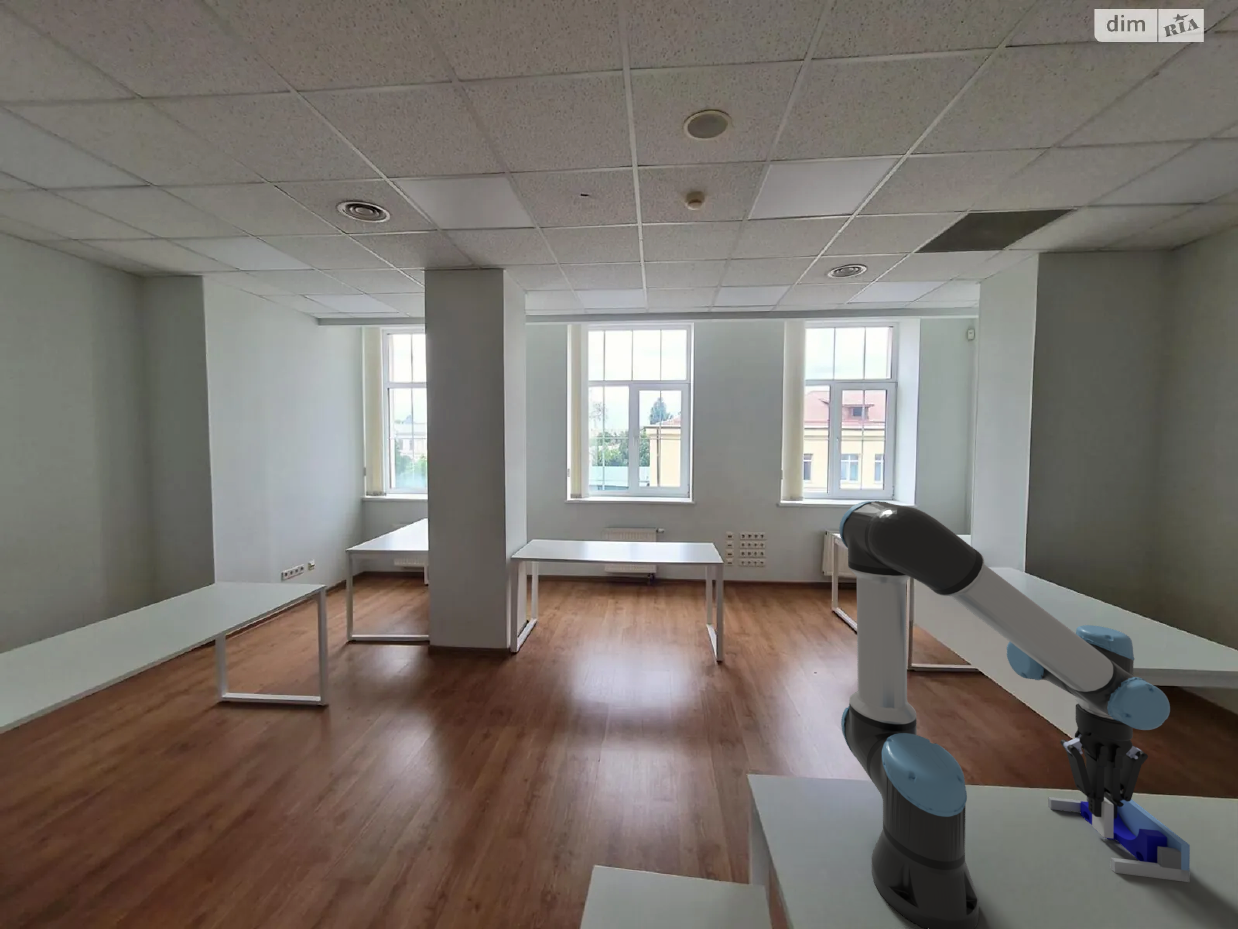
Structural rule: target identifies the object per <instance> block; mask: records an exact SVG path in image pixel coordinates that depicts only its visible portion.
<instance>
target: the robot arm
mask: <svg viewBox="0 0 1238 929" xmlns="http://www.w3.org/2000/svg"><path fill="white" fill-rule="evenodd" d="M838 532H839V536H840V539H841V541H842V544H844V546H845V547H846V548H847V568H848V569H849V570H850V572H852V574H854V575H855V577H856V629H857V630H856V635H857V636H856V638H857V639H856V642H857V645H856V647H857V648H856V650H857V651H856V652H857V653H856V654H857V655H856V656H857V657H856V658H857V664H856V666H857V691H856V692H854V693H852V694H851V695H850V697H849V700H848V701H849V704H848V707H845V708H844V710H843V712H842V715H841V721H840V724H841V725H840V726H841V732H842V735H843V738H844V740H845V743H846V745H847V746H848V747H847V748H848V749H849V750H850V753H852V756H854V757H855V758H856V760H857V761H858V762H859V764H860V766H861V767H862V768H863V770H864V771H865V773H866V774H867V776H868V777H869V779H870V780H871V782H872V783H873V785H874V786H875V788H876V789H877V791H878V792H879V793H880V795H881V798H882V829H881V832H880V834H879V837H878V838H877V841H876V844H875V846H874V849H873V851H872V853H871V876H872V880H873V882H874V885H875V886H876V889H878V892H879V893H880V895H881V896H882V897H883V898H884V900H885V901H886V902H887V903H888V904H889V905H890V906H891V907H892V908H893V909H894V910H895V911H896V912H898V913H899V915H901V916H903V917H904V918H906V919H907V920H909V921H910V922H912V923H914V924H916V925H918V926H920V927H921V928H924V929H926V928H929V929H975V928H976V927H977V926H978V923H979V920H980V918H979V917H980V915H979V914H980V913H979V912H980V909H979V908H980V905H979V904H980V903H979V897H978V894H977V891H976V888H975V885H974V882H973V879H972V877H971V873H970V870H969V868H968V865H967V862H966V804H967V799H968V794H967V787H966V782H965V775H964V772H963V769H962V767H961V765H960V764H959V762H958V761H957V760H956V758H955V757H954V756H953V755H952V754H951V753H950V752H949V751H948V750H947V749H945V748H944V747H943V746H941V745H940V744H938V743H937V742H936V743H934V742H931V741H930V739H928V738H926V737H924V736H921V735H918V734H917V733H918V730H917V728H918V727H917V726H918V725H917V722H918V721H917V712H916V709H915V708H914V707H913V706H912V704H910V703H909V702H908V669H907V668H908V666H907V664H908V660H907V659H908V658H907V657H908V656H907V655H908V654H907V653H908V651H907V650H908V649H907V648H908V646H907V643H908V641H907V639H908V638H907V637H908V636H907V582H908V580H910V578H911V579H914V580H915V581H917V582H919V583H921V584H922V585H924V586H926V587H928V589H929V590H931V591H933V592H934V593H935V594H936V595H939V596H942V597H951V598H952V599H953V600H955V602H957V603H958V604H960V605H961V606H962V607H963V608H965V609H966V610H967V611H969V612H970V613H971V614H973V615H974V616H975V617H976V618H978V619H979V620H981V621H982V622H983V623H985V625H987V626H989V627H990V628H991V629H993V631H995V632H997V634H999V635H1000V636H1002V637H1003V638H1005V639H1006V640H1007V641H1009V642H1007V646H1006V659H1007V661H1008V664H1009V666H1010V667H1011V669H1012V671H1014V673H1015V674H1017V675H1018V676H1020V677H1021V678H1024V679H1027V680H1035V681H1042V680H1044V681H1047V682H1049V683H1051V684H1053V685H1054V686H1057V687H1058V688H1060V689H1062V690H1063V691H1065V692H1067V693H1068V694H1071V695H1072V696H1074V698H1075V699H1074V700H1075V702H1076V704H1075V723H1076V727H1077V730H1076V732H1075V733H1074V738H1073V739H1071V740H1067V739H1061V740H1060V741H1059V742H1060V745H1061V746H1062V748H1063V749H1064V750H1065V752H1066V755H1067V758H1068V759H1067V760H1068V763H1069V765H1070V769H1071V773H1072V774H1071V775H1072V778H1073V781H1074V785H1075V788H1077V789H1078V790H1079V791H1080V792H1081V793H1082V794H1083V795H1085V796H1086V798H1087V797H1088V809H1089V811H1090V812H1091V813H1092V825H1091V827H1092V828H1093V829H1095V831H1096V832H1097V833H1098V834H1100V835H1101V836H1102V837H1103V838H1105V839H1106V838H1112V839H1113V825H1114V819H1116V818H1117V816H1118V814H1117V813H1118V806H1119V807H1122V806H1123V805H1124V804H1123V803H1122V802H1121V801H1122V800H1125V801H1127V802H1129V801H1131V799H1133V795H1134V790H1135V788H1136V785H1137V781H1138V778H1139V774H1140V773H1141V772H1140V771H1141V769H1142V765H1143V764H1144V763H1145V762H1146V761H1147V760H1148V757H1149V756H1148V754H1147V753H1146V752H1144V751H1143V750H1142V749H1140V748H1138V747H1137V746H1135V745H1133V742H1132V739H1133V738H1134V737H1133V736H1134V732H1133V731H1134V730H1133V729H1136V730H1142V731H1150V730H1155V729H1157V728H1159V727H1161V726H1162V725H1163V724H1164V723H1165V721H1166V720H1168V718H1169V716H1170V712H1171V706H1170V705H1171V704H1170V702H1169V699H1168V696H1167V695H1166V694H1165V693H1164V691H1163V690H1161V689H1160V688H1158V687H1157V686H1155V685H1153V684H1152V683H1150V682H1148V681H1147V680H1146V679H1144V678H1141V677H1138V676H1135V675H1134V661H1135V657H1134V647H1133V641H1132V638H1131V637H1130V636H1129V635H1128V634H1126V633H1124V632H1122V631H1119V630H1116V629H1114V628H1109V627H1104V626H1100V625H1093V624H1092V625H1091V624H1085V625H1079V626H1077V627H1076V630H1075V632H1074V631H1073V630H1072V629H1070V628H1069V627H1068V626H1066V625H1065V624H1064V623H1062V622H1061V621H1060V620H1059V619H1057V618H1056V617H1054V616H1053V615H1052V614H1050V613H1049V612H1048V611H1047V610H1045V609H1044V608H1043V607H1041V606H1040V605H1038V604H1037V603H1036V602H1035V601H1034V600H1032V599H1030V598H1029V596H1027V595H1025V594H1024V593H1023V592H1022V591H1021V590H1019V589H1017V588H1016V587H1015V586H1014V585H1012V584H1011V583H1009V582H1008V580H1005V579H1004V578H1003V577H1002V576H1000V575H999V574H998V573H997V572H995V571H994V570H992V569H991V568H990V567H989V566H987V565H986V564H985V559H984V556H983V554H982V553H980V551H978V550H977V549H975V548H974V547H973V546H971V545H970V544H968V542H967V541H965V540H963V538H962V537H960V536H958V535H957V534H956V533H954V531H952V530H951V529H950V528H948V527H947V526H946V525H945V524H943V523H941V521H939V520H938V519H936V518H934V517H933V516H931V515H929V513H926V512H925V511H923V510H920V509H918V508H914V507H911V506H905V505H899V504H895V503H890V502H887V501H879V500H872V501H871V500H870V501H869V500H868V501H861V502H858V503H856V504H854V505H852V506H851V507H850V508H849V509H848V510H847V511H846V512H845V513H844V514H843V516H842V517H841V520H840V523H839V529H838ZM1082 749H1083V751H1084V752H1083V751H1082ZM1083 754H1084V757H1085V759H1086V761H1085V759H1084V757H1083V756H1082V755H1083ZM1085 762H1086V763H1085Z"/></svg>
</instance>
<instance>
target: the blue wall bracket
mask: <svg viewBox="0 0 1238 929" xmlns="http://www.w3.org/2000/svg"><path fill="white" fill-rule="evenodd" d="M1081 801H1082V800H1080V799H1079V800H1078V799H1071V798H1060V797H1053V796H1051V797H1050V796H1048V798H1047V807H1048V808H1049V809H1050V810H1054V811H1055V810H1056V811H1062V810H1064V811H1065V812H1071V811H1074V812H1073V813H1080V814H1081ZM1083 801H1084V802H1088V797H1087V796H1086V800H1083ZM1121 802H1122V803H1123V804H1124V805H1123V806H1122V807H1119V806H1118V815H1119V817H1120V818H1121V820H1122V822H1123V823H1124V824H1125V826H1126V827H1127V828H1128V829H1129V830H1130V832H1131V833H1133V834H1134V835H1135V836H1136V837H1137V836H1138V833H1139V829H1149V830H1158V831H1160V832H1161V833H1162V834H1163V835H1165V836H1166V837H1167V847H1159V846H1158V850H1157V863H1151V862H1143V861H1139V860H1134V859H1127V858H1126V859H1125V858H1117V857H1110V869H1111V870H1112V872H1114V873H1115V874H1121V875H1122V874H1124V875H1130V876H1131V875H1132V876H1137V877H1147V878H1154V879H1160V880H1161V879H1163V880H1169V881H1177V882H1178V881H1179V882H1183V883H1184V882H1185V883H1190V876H1191V875H1190V870H1191V869H1190V866H1191V865H1190V863H1191V862H1190V861H1191V860H1190V857H1191V855H1190V854H1191V852H1190V850H1191V847H1190V846H1191V845H1190V844H1189V843H1188V842H1187V841H1186V840H1184V839H1183V838H1181V836H1179V835H1177V834H1176V832H1174V831H1172V830H1171V829H1170V828H1169V827H1168V826H1166V825H1165V824H1164V823H1163V822H1161V821H1160V820H1158V818H1156V817H1155V816H1153V814H1151V813H1150V812H1149V811H1147V810H1146V809H1145V808H1143V806H1141V805H1139V804H1138V803H1137V802H1136V801H1135V800H1134V799H1133V798H1131V801H1129V802H1127V801H1125V800H1122V801H1121ZM1064 811H1063V812H1064Z"/></svg>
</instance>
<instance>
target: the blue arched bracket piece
mask: <svg viewBox="0 0 1238 929" xmlns="http://www.w3.org/2000/svg"><path fill="white" fill-rule="evenodd" d="M1084 801H1085V800H1081V813H1080V816H1081V817H1082V818H1083V819H1084V818H1085V819H1084V820H1085V821H1086V822H1088V824H1090V825H1091V826H1092V813H1091V812H1090V811H1089V809H1088V802H1084ZM1117 814H1118V813H1117ZM1105 839H1106V840H1110V841H1111V840H1113V841H1117V842H1118V843H1119V844H1120V845H1121V846H1122V847H1123V848H1124V849H1125V850H1126V851H1128V852H1129V853H1130V854H1131V855H1132V856H1133V857H1134V858H1135V859H1136V860H1137V861H1143V862H1151V863H1157V850H1158V846H1159V847H1167V837H1166V836H1165V835H1163V834H1162V833H1161V832H1160V831H1158V830H1149V829H1139V833H1138V836H1137V837H1136V836H1135V835H1134V834H1133V833H1131V832H1130V830H1129V829H1128V828H1127V827H1126V826H1125V824H1124V823H1123V822H1122V820H1121V818H1120V817H1119V815H1118V816H1117V818H1116V819H1114V825H1113V839H1112V838H1105Z"/></svg>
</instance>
